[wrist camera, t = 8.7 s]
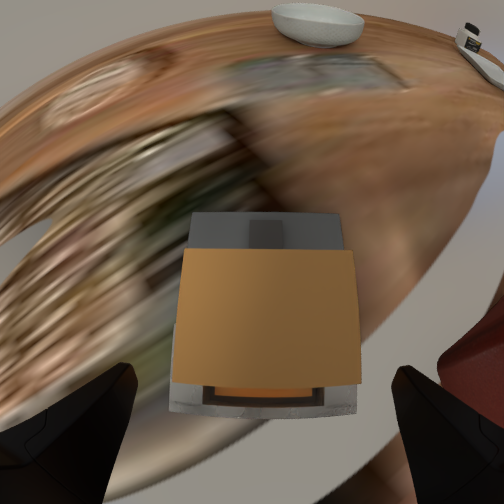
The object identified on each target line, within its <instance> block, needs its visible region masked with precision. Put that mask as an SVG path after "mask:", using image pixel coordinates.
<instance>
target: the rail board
mask: <svg viewBox="0 0 504 504" xmlns="http://www.w3.org/2000/svg"><path fill="white" fill-rule="evenodd" d="M250 220H282V224H283V249H301V250H344V246H343V238H342V231H341V224H340V217H339V214H330V213H294V212H192V218H191V225H190V232H189V239H188V246H187V248H201V249H249V224H250ZM210 400H212V401H225V402H243V403H302V402H316V388H312V396H307V397H239V396H222V395H215V386H210Z"/></svg>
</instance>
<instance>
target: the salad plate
mask: <svg viewBox="0 0 504 504" xmlns="http://www.w3.org/2000/svg"><path fill="white" fill-rule="evenodd" d="M457 47H458V49H459V51H460V52H461V54H462V55H463V56H464V57H465V58H466V59H467V60H468V61H469V62H470V63H471V64H472V65H473V66H474V67H475V68H476V69H477V70H478V71H479V72H480V73H481V75H482V76H483V77H484V78H485V79H486V80H487V81H489V82H490V83H491V84H493V85H495V86H496V87H498V88H500V89H502V90H503V91H504V72H503V71H502V70H501V69H500V68H499V67H498V66H497V65H495V64H494V63H492V62H490V61H489V60H487V59H485V58H484V57H482V56H480V55H478V54H476V53H474V52H472V51H470V50H468V49H466V48H464V47H461V46H459V45H457Z"/></svg>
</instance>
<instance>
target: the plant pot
mask: <svg viewBox="0 0 504 504" xmlns="http://www.w3.org/2000/svg"><path fill="white" fill-rule="evenodd" d="M437 372H438V375H439V378H440V380H441V383H442V386H443V388H444V389H445V390H447V391H448V392H450V393H451V394H452V395H454V396H455V397H457V398H458V399H460V400H461V401H463V402H464V403H465V404H467V405H468V406H470V407H471V408H473V409H474V410H476V411H477V412H478V413H480V414H482V415H483V416H484V417H486V418H487V419H489V420H490V421H492V422H494V423H495V424H497V425H499V426H500V427H502V428H504V296H503V297H502V298H501V299H500V300H499V302H498V303H497V304H496V305H495V306H494V307H493V308H492V309H491V310H490V311H489V312H488V313H487V314H486V315H485V316H484V317H483V318H482V319H481V320H480V321H479V322H478V323H477V324H476V325H475V326H474V327H473V328H472V329H471V330H470V331H468V333H466V334H465V335H464V336H463V337H462V338H461V339H459V340H458V341H457V342H456V343H455V344H454V345H452V346H451V347H450V348H449V349H448V350H446V351H445V352H444V353H443V354H442V355H441V356H440V358H439V360H438V362H437Z"/></svg>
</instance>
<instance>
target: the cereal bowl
mask: <svg viewBox="0 0 504 504" xmlns="http://www.w3.org/2000/svg"><path fill="white" fill-rule="evenodd" d="M272 19H273V22H274V25H275V27H276V28H277V29H278V31H280V32H281V33H282V34H284V35H285V36H287V37H289V38H292V39H294V40H297V41H298V42H299V43H301V44H304V45H307V46H311V47H317V48H333V47H336V46H338V45H346V44H349V43H352V42H354V41H355V40H357V39H358V38H359V37H360V35H361V33H362V31H363V27H364V20H363V19H362V18H361V17H359V16H358V15H356V14H354V13H351V12H348V11H346V10H343V9H339V8H335V7H331V6H326V5H320V4H310V3H288V4H281V5H277V6H275V7H273V8H272Z"/></svg>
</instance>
